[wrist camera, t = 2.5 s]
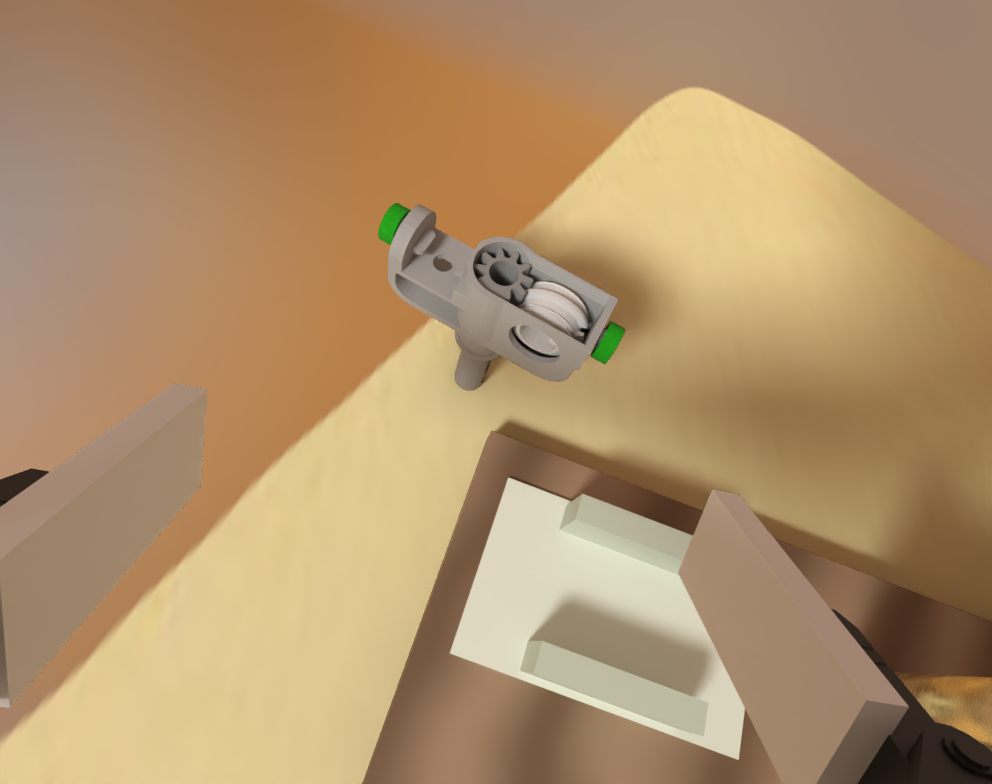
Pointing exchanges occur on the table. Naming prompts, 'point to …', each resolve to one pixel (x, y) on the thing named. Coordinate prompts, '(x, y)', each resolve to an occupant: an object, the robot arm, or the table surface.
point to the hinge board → (617, 643)
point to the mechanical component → (498, 299)
